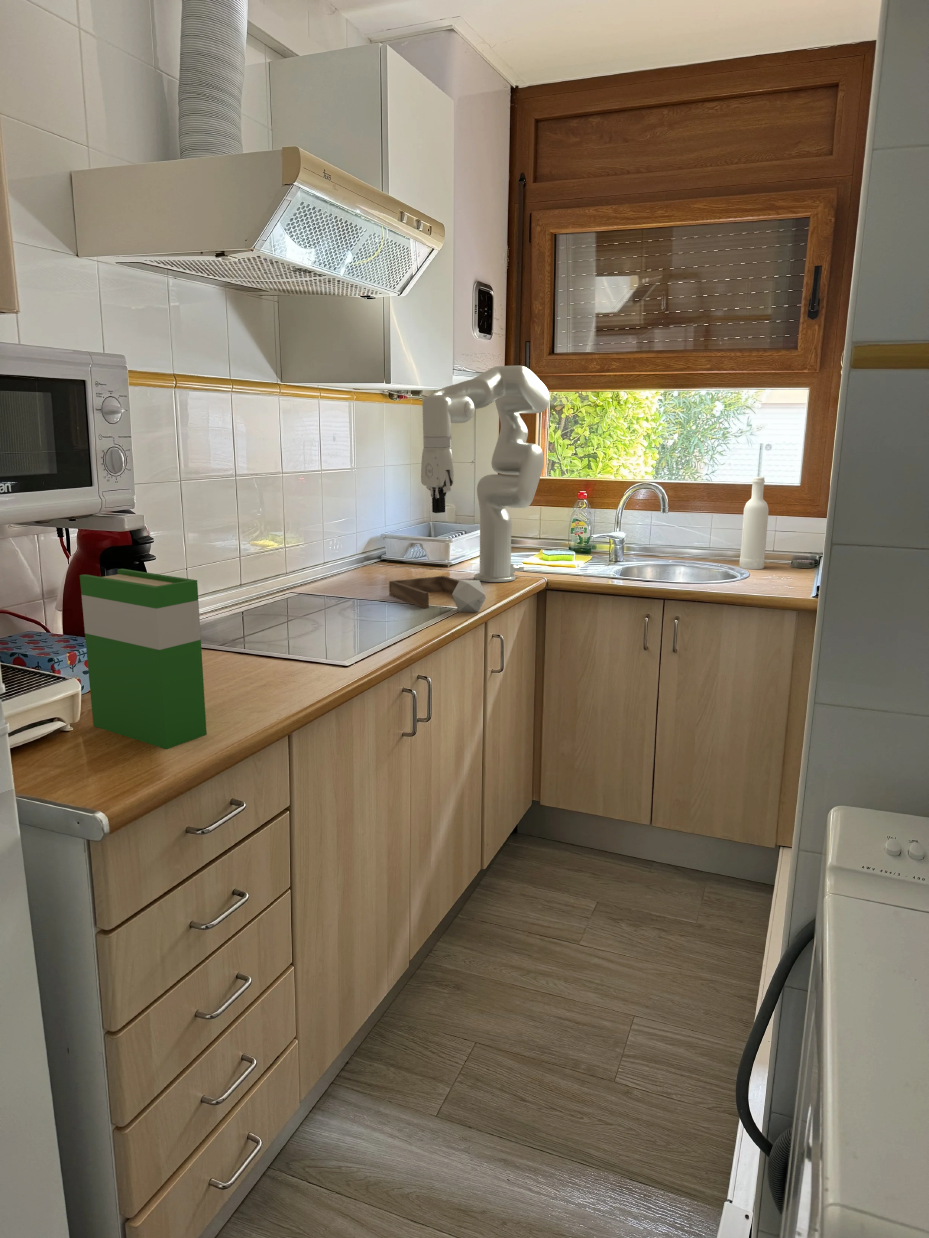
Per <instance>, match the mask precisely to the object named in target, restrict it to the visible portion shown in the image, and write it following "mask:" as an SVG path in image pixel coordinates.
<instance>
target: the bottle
mask: <svg viewBox="0 0 929 1238" xmlns="http://www.w3.org/2000/svg"><path fill="white" fill-rule="evenodd" d="M765 482H766V481H765V477H764V476H753V477H752V481H751V484H752V486H751V498H750V499H749V500H748V501H747V502H745V505H744V506H743V517H742V530H741V541H740V543H741V544H740V555H739V556H740V557H739V568H740V569H743V570H745V569H746V570H763V569H764V568H765V563H766V562H765V561H766V559H765V558H766V547H767V546H766V545H767V536H768V535H767V534H768V533H767V532H768V523H769V522H768V521H769V506H768V503H767V501H766V500H765V499H764V490H765V489H764V488H765Z"/></svg>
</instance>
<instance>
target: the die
mask: <svg viewBox="0 0 929 1238" xmlns="http://www.w3.org/2000/svg"><path fill="white" fill-rule="evenodd" d="M459 580H460V581H459V582H458V584H457V586H456V588H455V590H454V592H453V593H452V594H451V595H452V597H453V601H454V603H455V606H456V608H457V612H458V613H479V612H480V610H481V608H482V606H483V604H484V602H485V600H486V594H485V592H484V589H483V586H482V583H481V581H480V580H476V579H474V580H472V579H463V580H462V579H459Z"/></svg>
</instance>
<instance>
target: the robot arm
mask: <svg viewBox="0 0 929 1238" xmlns="http://www.w3.org/2000/svg"><path fill="white" fill-rule="evenodd" d="M550 400H551V399H550V392H549V390H548V388H547V386H546V385H545V384H544V382H543V381H542V380H540V378H539V377H538V376H537V375H536V374H535V373H534V372H533V371H532V370H531V369H529V368H528V367H527V366H523V365H499V366H498V365H497V366H494V367H491V368H489V369H488V370H486V371H484V372H482V373H481V374H479V375H477V376H475V377H474V378H472V379H471V378H470V379H467V380H464V381H461V382H458V383H455V384H452V385H449V386H445V387H442V388H439V389H437V390H436V391H434V392H432V393H430V394H428V396H424V398H423V399H422V405H421V407H422V439H423V443H422V445H423V448H422V452H421V465H420V467H421V469H420V482H421V484H422V485H423V486H425V487H426V489H427V490H428V491H429V492H430V497H431V508H432V509H431V511H432V513H435V514H442V513H446V498H447V493H450V492H452V491H451V490H452V489H451V487H452V486H453V485H454V482H455V481H454V479H455V478H454V476H455V475H454V474H455V473H454V459H453V453H452V442H453V441H452V424H465V423H467V422H469V421H471V419H472V418H473V417H474V414H475V410H478V409H483V408H485V407H488V406H489V405H490V404H491V405H492V403H494V402H495V406H496V409H497V413H498V417H499V421H500V430H499V434H498V437H497V440H496V444H495V447H494V450H493V453H492V456H491V469H493V471H494V472H495V473H497V474H495V473H493V474H487V475H484V476H482V477H481V478H480V479H479V480H478V483H477V487H476V492H477V493H476V494H477V499H478V500H477V501H478V506H479V572H477V573H475V574H474V577H473V578H474V580H480V582H485V583H487V582H488V583H506V582H513V581H515V580H517V579H516V574H514V573H516V572H523V571H524V570H525V567H524V564H519V565H518V564H517V565H515V564H513V563H512V525H513V524H512V519H511V517H510V513H509V512H508V510H507V508H511V509H526V508H528V507H529V506H531V504H532V503H533V500H534V498H535V495H536V492H537V488H538V487H539V486H538V485H539V482H540V479H541V477H542V474H543V473H542V472H543V469H544V465H545V463H544V462H545V457H544V452H543V450H542V448H541V447H540V446H539V445H538V444H536V443H531V442H530V443H529V442H527V439H528V436H529V430H528V427H527V425H526V423H525V421H524V420H523V418H522V417H521V415H520V414H541V413H543V412H544V411H546V410H547V409H548V407H549V404H550Z"/></svg>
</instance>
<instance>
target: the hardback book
mask: <svg viewBox="0 0 929 1238" xmlns="http://www.w3.org/2000/svg"><path fill="white" fill-rule="evenodd" d="M116 573H117V574H113V575H111V574H110V575H105V576H97V575H91V574H80V575H79V580H80V581H79V583H80V592H81V593H80V594H81V604H82V605H81V607H82V613H83V614H82V615H83V627H84V636H85V637H84V639H85V647H86V658H87V659H86V660H87V661H86V662H87V668H88V669H87V670H88V681H89V691H90V702H91V704H90V705H91V714H92V715H91V716H92V725H93V727H95V728H99V729H101V730H105V731H108V732H111V733H113V734H117V735H120V736H123V737H127V738H130V739H133V740H137V741H140V742H143V743H145V744H149V745H152V746H155V747H158V748H160V749H161V748H162V749H164V750H168V749H171V748H174V747H177V746H180V745H182V744H185V743H188V742H190V741H193V740H197V739H199V738H203V737H205V736H207V734H208V733H207V732H208V731H207V718H206V702H205V699H206V698H205V686H204V671H203V669H204V668H203V667H204V666H203V651H202V638H201V637H202V635H201V633H202V632H201V621H200V618H201V617H200V603H199V586H198V579H191V578H184V577H178V576H172V575H165V574H160V573H152V572H146V571H141V570H140V571H139V570H134V569H133V570H132V569H127V568H119V569H117V571H116Z"/></svg>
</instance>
